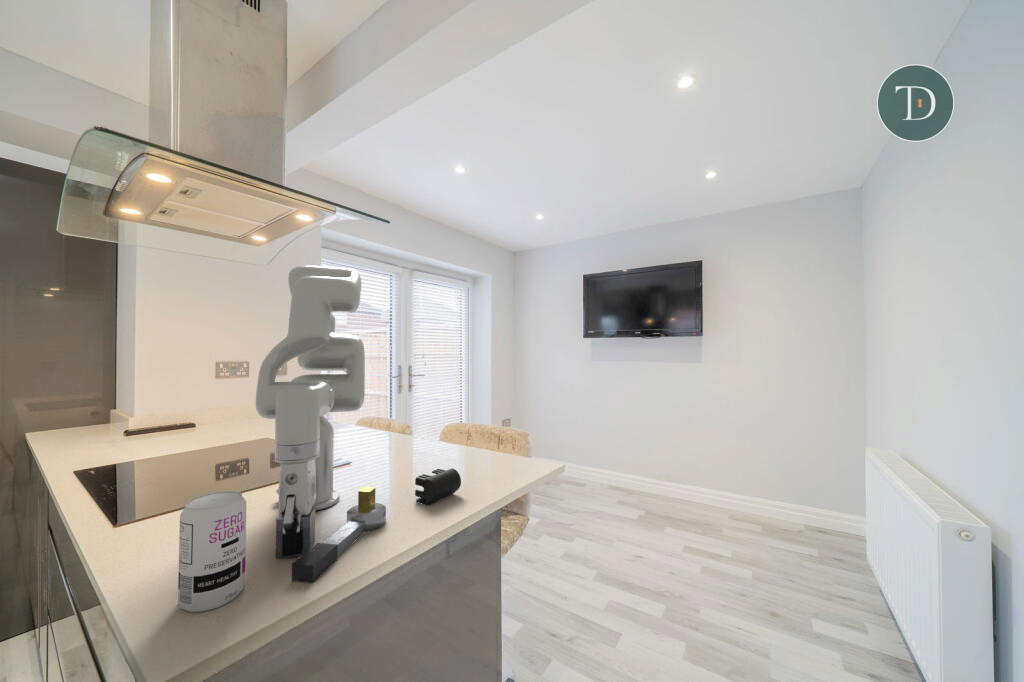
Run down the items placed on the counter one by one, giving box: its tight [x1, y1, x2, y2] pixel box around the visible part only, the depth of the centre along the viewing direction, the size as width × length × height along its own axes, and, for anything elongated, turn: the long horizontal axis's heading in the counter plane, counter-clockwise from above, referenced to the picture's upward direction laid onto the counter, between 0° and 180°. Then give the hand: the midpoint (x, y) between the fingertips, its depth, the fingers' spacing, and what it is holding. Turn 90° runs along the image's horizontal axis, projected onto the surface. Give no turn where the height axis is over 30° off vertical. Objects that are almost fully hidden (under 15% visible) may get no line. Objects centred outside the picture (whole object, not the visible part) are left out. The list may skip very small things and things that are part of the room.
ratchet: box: [291, 486, 387, 584], centre depth 77 cm, size 8×26×8 cm, turn 173°
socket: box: [274, 505, 316, 560], centre depth 75 cm, size 6×6×7 cm
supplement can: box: [177, 490, 247, 613], centre depth 61 cm, size 8×8×15 cm
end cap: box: [414, 467, 462, 506], centre depth 101 cm, size 10×7×7 cm
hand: (296, 544), depth 75 cm, fingers closed on socket, 5 cm apart
